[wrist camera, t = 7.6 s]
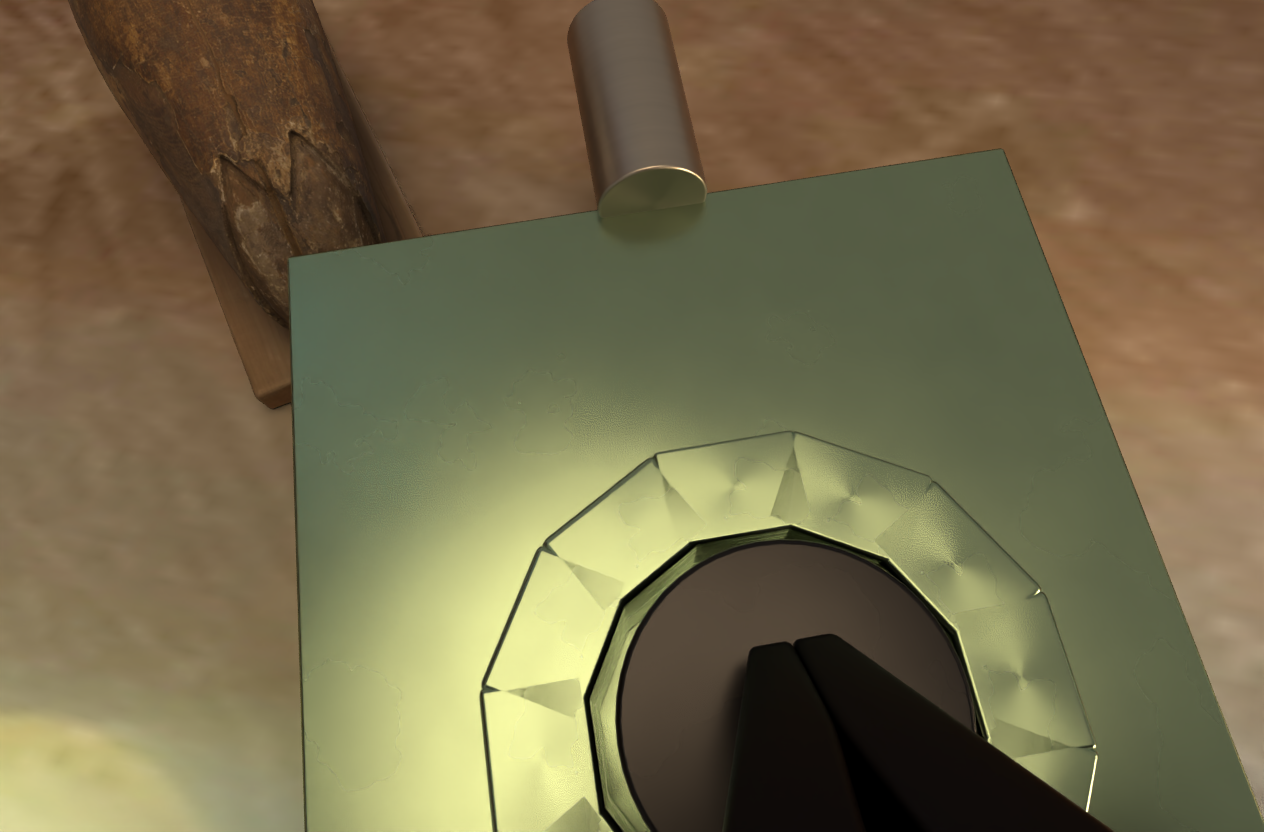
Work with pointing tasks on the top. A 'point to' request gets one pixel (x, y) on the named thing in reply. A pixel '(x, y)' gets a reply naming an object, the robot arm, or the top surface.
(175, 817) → the top surface
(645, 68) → the spout
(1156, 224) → the top surface
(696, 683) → the black short cylinder
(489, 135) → the top surface
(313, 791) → the push button base
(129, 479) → the top surface
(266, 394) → the figurine
